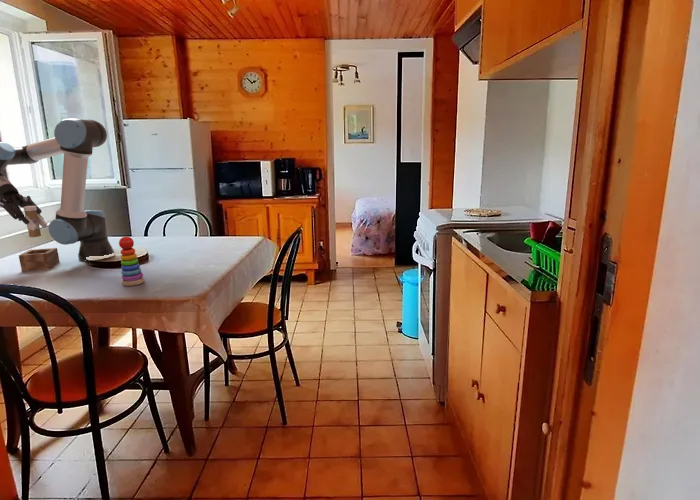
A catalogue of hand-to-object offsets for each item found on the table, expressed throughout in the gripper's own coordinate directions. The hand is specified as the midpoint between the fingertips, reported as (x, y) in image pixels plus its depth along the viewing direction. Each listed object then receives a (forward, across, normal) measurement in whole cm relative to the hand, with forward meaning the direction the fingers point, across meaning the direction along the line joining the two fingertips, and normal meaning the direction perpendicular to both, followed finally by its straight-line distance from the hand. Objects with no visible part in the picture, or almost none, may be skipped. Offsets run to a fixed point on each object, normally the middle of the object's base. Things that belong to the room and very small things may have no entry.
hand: (40, 227), depth 192 cm
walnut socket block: (+10, 0, -16) cm, 19 cm away
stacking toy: (+52, +11, +26) cm, 59 cm away
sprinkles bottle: (0, 0, -6) cm, 6 cm away
